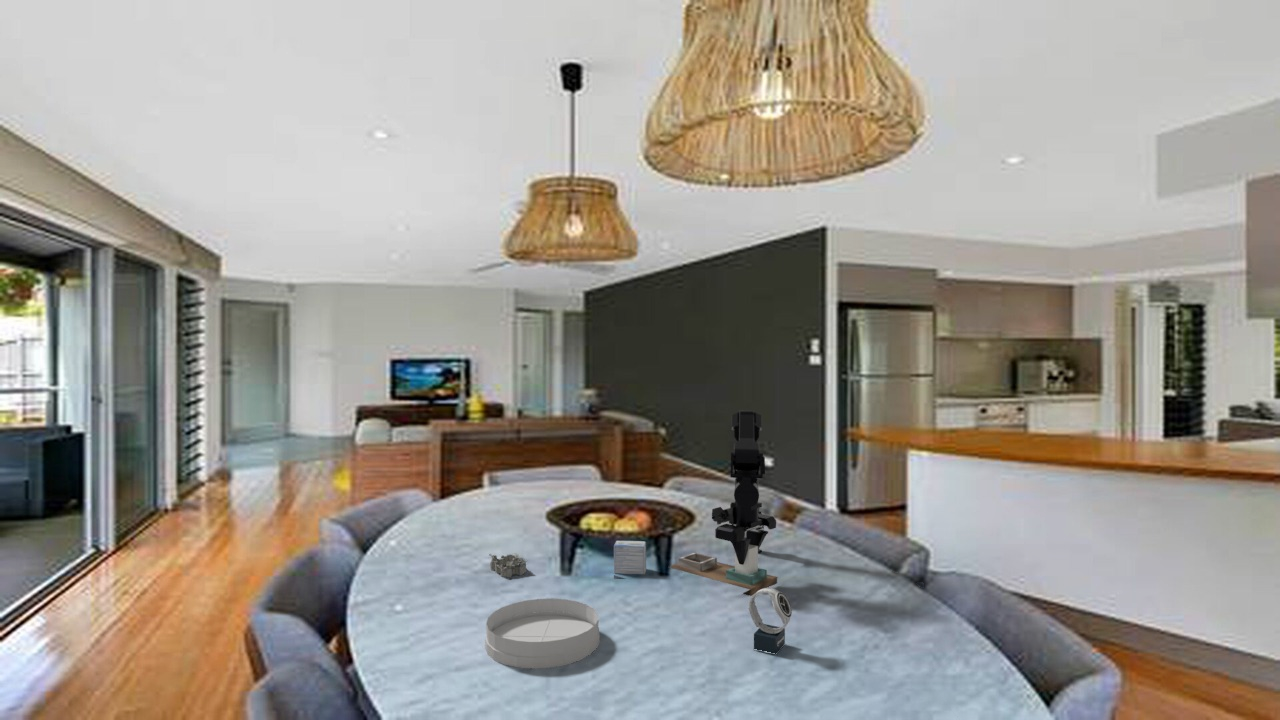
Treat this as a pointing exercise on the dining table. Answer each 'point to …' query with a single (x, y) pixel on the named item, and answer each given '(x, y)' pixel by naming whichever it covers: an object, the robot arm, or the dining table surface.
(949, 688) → the dining table surface
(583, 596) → the dining table surface
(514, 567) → the toy castle
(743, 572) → the plug
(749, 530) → the robot arm
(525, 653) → the dish
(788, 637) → the dining table surface
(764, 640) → the watch
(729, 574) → the socket board
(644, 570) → the medicine box
